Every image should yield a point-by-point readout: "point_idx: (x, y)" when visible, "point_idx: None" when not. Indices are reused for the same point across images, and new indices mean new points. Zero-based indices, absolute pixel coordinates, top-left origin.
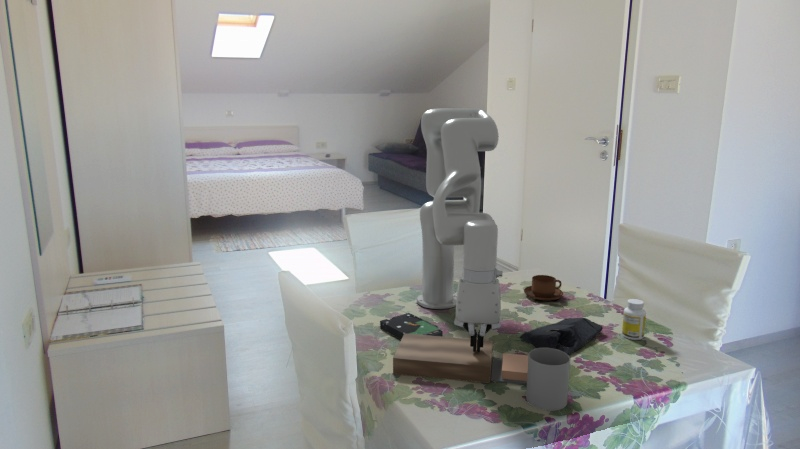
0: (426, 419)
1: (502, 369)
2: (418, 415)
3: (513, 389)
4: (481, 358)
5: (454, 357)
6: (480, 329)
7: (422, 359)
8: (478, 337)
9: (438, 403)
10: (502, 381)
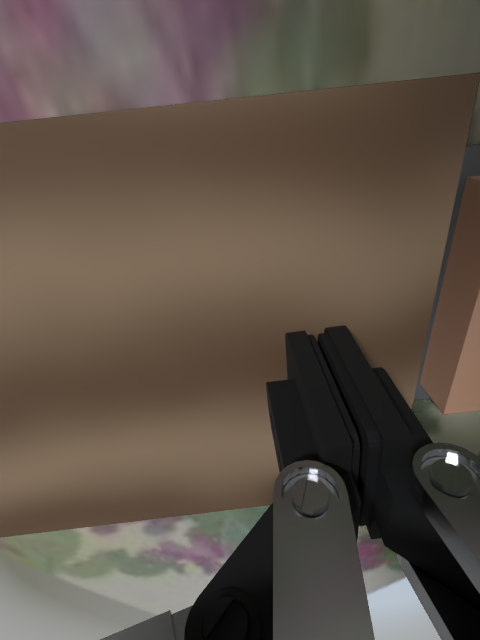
0: (184, 603)
1: (448, 406)
2: (156, 598)
3: (455, 428)
4: None
5: (177, 465)
6: (433, 622)
7: (8, 526)
8: (371, 529)
9: (191, 553)
10: (420, 397)
